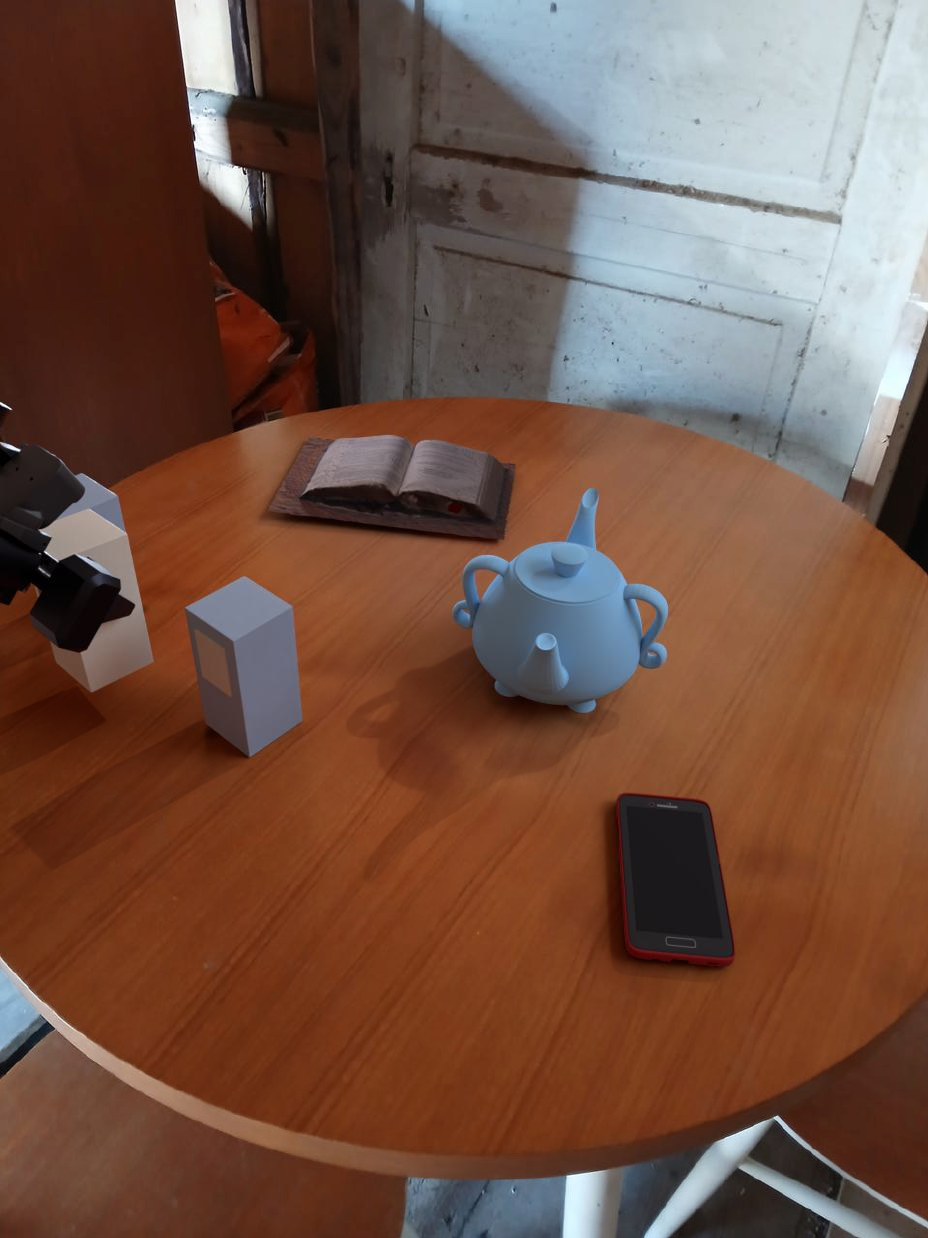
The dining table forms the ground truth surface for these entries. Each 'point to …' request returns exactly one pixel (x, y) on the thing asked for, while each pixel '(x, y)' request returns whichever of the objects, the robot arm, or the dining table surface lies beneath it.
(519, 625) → the teapot
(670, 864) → the cell phone
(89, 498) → the block left
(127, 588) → the cream block
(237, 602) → the block right
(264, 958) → the dining table surface
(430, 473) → the book
